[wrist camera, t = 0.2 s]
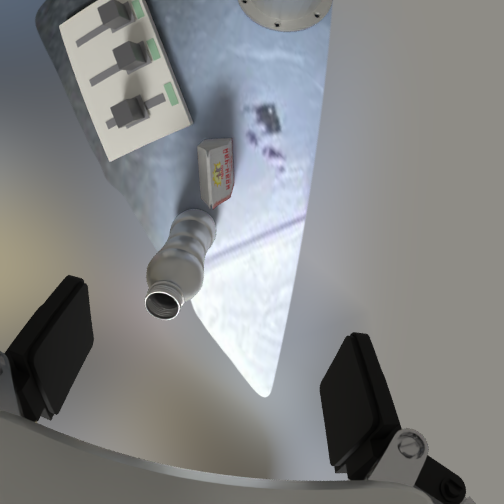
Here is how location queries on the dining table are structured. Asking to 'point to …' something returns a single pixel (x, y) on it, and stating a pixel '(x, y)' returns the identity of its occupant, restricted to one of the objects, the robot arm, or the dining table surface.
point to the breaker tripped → (129, 112)
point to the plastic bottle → (179, 264)
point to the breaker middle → (131, 56)
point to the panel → (124, 78)
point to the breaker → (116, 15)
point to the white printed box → (215, 170)
